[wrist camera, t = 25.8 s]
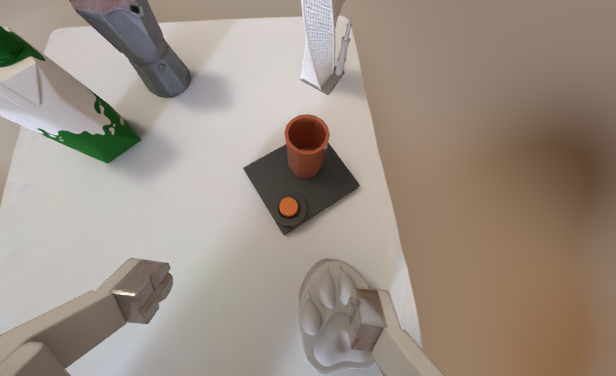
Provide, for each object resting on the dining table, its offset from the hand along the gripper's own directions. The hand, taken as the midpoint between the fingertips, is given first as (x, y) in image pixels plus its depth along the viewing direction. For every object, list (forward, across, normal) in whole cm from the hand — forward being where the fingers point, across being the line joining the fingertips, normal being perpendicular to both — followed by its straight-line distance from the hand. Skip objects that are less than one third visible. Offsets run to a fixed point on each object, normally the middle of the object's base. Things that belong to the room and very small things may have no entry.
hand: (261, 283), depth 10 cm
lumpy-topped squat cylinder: (+16, +8, -24) cm, 30 cm away
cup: (+31, +1, -6) cm, 32 cm away
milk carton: (+33, -36, -8) cm, 50 cm away
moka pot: (+44, -30, +3) cm, 53 cm away
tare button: (+24, -1, -12) cm, 26 cm away
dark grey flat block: (+30, 0, -10) cm, 32 cm away
